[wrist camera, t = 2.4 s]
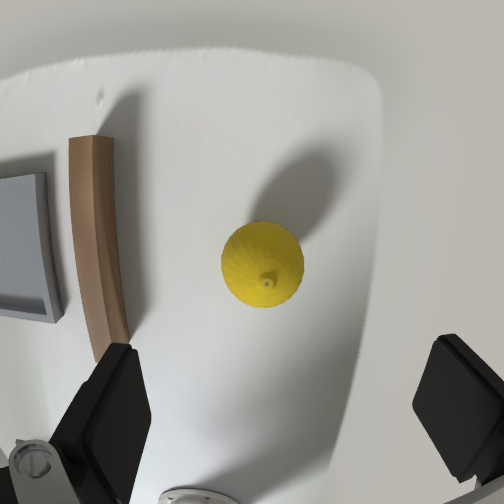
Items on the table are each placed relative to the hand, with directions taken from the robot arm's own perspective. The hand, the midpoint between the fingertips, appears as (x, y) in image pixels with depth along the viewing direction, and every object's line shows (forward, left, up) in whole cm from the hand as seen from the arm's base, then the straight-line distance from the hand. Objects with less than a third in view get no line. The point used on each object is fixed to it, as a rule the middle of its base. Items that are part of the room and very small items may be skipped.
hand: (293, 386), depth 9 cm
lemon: (0, 0, -17) cm, 17 cm away
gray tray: (+17, +19, -17) cm, 31 cm away
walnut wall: (+8, +10, -17) cm, 21 cm away
